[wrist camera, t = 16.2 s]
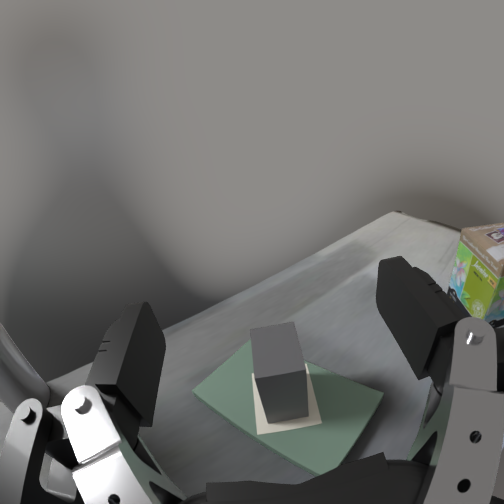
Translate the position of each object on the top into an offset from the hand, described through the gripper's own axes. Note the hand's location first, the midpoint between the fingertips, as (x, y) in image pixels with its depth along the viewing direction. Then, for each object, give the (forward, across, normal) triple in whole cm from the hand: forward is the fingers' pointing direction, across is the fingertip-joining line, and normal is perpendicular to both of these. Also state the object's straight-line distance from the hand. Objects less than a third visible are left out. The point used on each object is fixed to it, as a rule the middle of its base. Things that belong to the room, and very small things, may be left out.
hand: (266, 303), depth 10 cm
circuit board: (+11, 0, +25) cm, 27 cm away
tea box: (+14, -34, +25) cm, 44 cm away
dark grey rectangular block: (+11, 0, +23) cm, 26 cm away
